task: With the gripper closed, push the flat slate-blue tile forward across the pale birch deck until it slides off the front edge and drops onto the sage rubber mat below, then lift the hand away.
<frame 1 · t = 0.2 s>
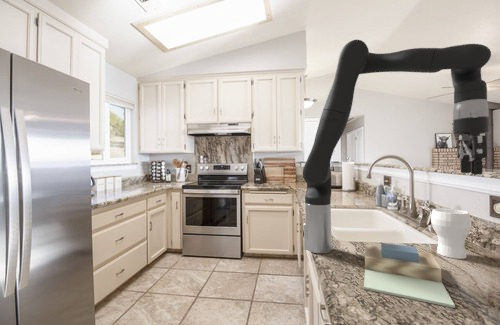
hand: (470, 173, 68), 28 cm above the countertop, tool pointing down, fingers open, 8 cm apart
white vase: (451, 255, 81), on the countertop
mat: (403, 287, 60), on the countertop
deck: (398, 268, 71), on the countertop
tile: (398, 252, 70), point 5 cm above the countertop, touching deck
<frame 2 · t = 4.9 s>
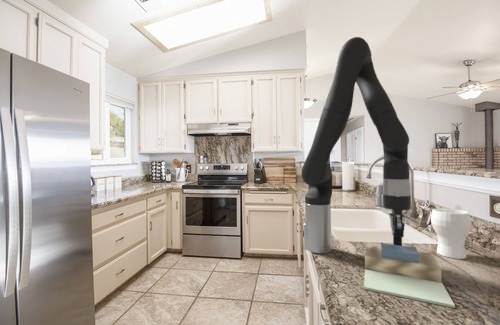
hand: (397, 248, 74), 5 cm above the countertop, tool pointing down, fingers closed
tile: (398, 252, 70), point 5 cm above the countertop, touching deck, gripper
everything else where it was.
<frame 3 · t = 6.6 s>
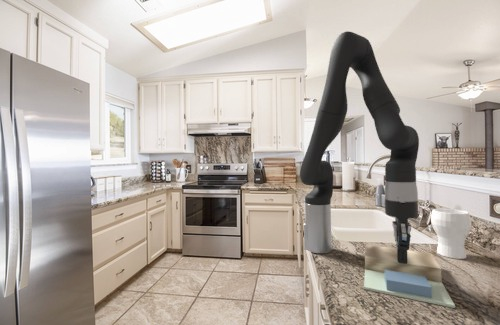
hand: (402, 262, 64), 5 cm above the countertop, tool pointing down, fingers closed
tile: (406, 282, 59), point 2 cm above the countertop, tilted 180°, touching mat
everything else where it was.
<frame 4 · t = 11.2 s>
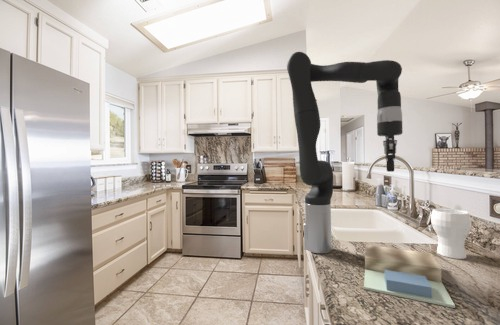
hand: (390, 171, 82), 29 cm above the countertop, tool pointing down, fingers closed
nothing on the countertop moved.
at the end: tile point 1.8 cm above the countertop; tile inside the target area (1.3 cm from its centre), point 1.8 cm above the countertop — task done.
